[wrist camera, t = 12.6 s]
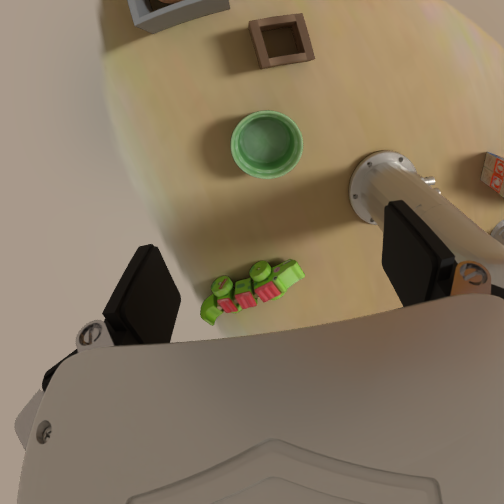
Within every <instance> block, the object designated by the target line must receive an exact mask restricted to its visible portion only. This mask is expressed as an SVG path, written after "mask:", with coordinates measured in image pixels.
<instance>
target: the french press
mask: <svg viewBox="0 0 504 504" xmlns="http://www.w3.org/2000/svg"><path fill="white" fill-rule="evenodd" d="M490 236H492V237H493V238H494V239H496V240H497V241H498V242H500V243H501V244H503V245H504V220H502V221H501V222H499V223H498V224H497V225H496V226H495V228H494V229H493V231H492V233H491V235H490Z"/></svg>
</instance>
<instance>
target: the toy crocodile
mask: <svg viewBox="0 0 504 504" xmlns="http://www.w3.org/2000/svg"><path fill="white" fill-rule="evenodd" d="M249 275H250V276H251V278H252V279H253V280H254V283H253V281H252V279H251V278H248V279H244V280H240V281H237V282H236V283H235V290H234V289H233V283H232V281H231V280H230V278H229V277H227V276H222V277H219V278H218V279H216V280H215V281H214V282H213V284H212V286H211V291H212V292H213V293H214V294H212V295H211V296H209V297H208V298H207V299H206V300H205V301H204V302H203V304H202V306H201V311H200V312H201V313H200V315H201V318H202V319H203V320H205V321H206V322H207V323H209V324H210V325H212V326H213V325H214V322H215V320H216V318H217V317H218V316H219V315H221V314H222V313H223V311H225V312H226V313H230V312H231V313H238V312H240V311H241V310H242V309H246V308H249V307H254V306H256V305H257V298H258V297H260V298H261V300H262V301H263V302H266V301H268V300H277V299H279V298H281V297H282V296H283V295H284V293H285V292H286V291H287V289H288V288H289V287H290V286H292V285H293V284H294V283H296V282H297V281H298V280H301V279H303V278H304V277H305V274H304V273H303V271H302V269H301V268H300V266H299V265H298V263H297V261H295V260H292V259H289V260H287V261H285V262H283V263H281V264H279V265H277V266H275V267H273V268H271V267H270V265H269V264H268V263H267V262H266V261H260V262H257V263H256V264H254V265H253V266H252V268H251V269H250V271H249Z"/></svg>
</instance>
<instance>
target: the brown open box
mask: <svg viewBox="0 0 504 504" xmlns="http://www.w3.org/2000/svg"><path fill="white" fill-rule="evenodd" d="M287 27H291V29H292V32H293V36H294V39H295V43H296V46H297V50H298V54H292V55H285V56H279V57H274V58H268V54H267V51H266V47H265V44H264V40H263V37H262V34H261V32H263V31H268V30H274V29H280V28H287ZM248 28H249V31H250V35H251V38H252V41H253V45H254V48H255V51H256V55H257V58H258V62H259V65H260V69H265V68H270V67H275V66H281V65H287V64H293V63H299V62H307V61H311V60H314V59H315V56H314V53H313V49H312V45H311V41H310V38H309V34H308V31H307V27H306V24H305V20H304V17H303V14H302V13H300V14H291V15H283V16H276V17H270V18H264V19H258V20H253V21H249V26H248Z"/></svg>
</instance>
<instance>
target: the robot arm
mask: <svg viewBox="0 0 504 504" xmlns="http://www.w3.org/2000/svg"><path fill="white" fill-rule="evenodd" d="M368 162H369V163H368ZM367 163H368V164H367ZM434 184H435V179H434V177H433V176H429V177H425V178H423V177H422V176H420V175H419V174H417V171H416V169H415V167H414V165H413V164H412V163H411V161H410V160H409V159H408V158H406V157H405V156H403V155H402V154H400V153H398V152H394V151H388V150H385V151H378V152H376V153H373V154H371V155H369V156H368V157H366V158H365V159H364V160H363V161H361V162H360V164H359V165H358V166H357V167H356V169H355V171H354V173H353V174H352V177H351V180H350V184H349V199H350V203H351V205H352V207H353V209H354V211H355V212H356V214H357V215H358V216H359V217H360V218H361V219H362V220H364V221H365V222H367V223H370V224H374V225H378V226H379V228H380V229H381V230H382V232H383V251H382V266H383V269H384V271H385V272H386V274H387V276H388V278H389V280H390V282H391V283H392V285H393V287H394V289H395V291H396V293H397V295H398V297H399V299H400V301H401V303H402V305H403V307H402V308H398V309H394V310H389V311H385V312H381V313H376V314H372V315H367V316H363V317H358V318H353V319H348V320H343V321H338V322H332V323H327V324H321V325H315V326H310V327H304V328H298V329H291V330H285V331H278V332H271V333H264V334H256V335H248V336H240V337H231V338H222V339H212V340H201V341H189V342H176V343H170V340H171V336H172V332H173V329H174V325H175V321H176V317H177V314H178V310H179V306H180V302H181V297H180V293H179V291H178V289H177V287H176V285H175V283H174V281H173V279H172V277H171V275H170V273H169V270H168V268H167V266H166V264H165V262H164V260H163V258H162V255H161V253H160V251H159V249H158V247H154V246H153V245H152V244H149V245H144V246H140V247H139V248H138V249H137V251H136V252H135V254H134V256H133V257H132V259H131V261H130V263H129V264H128V267H127V268H126V270H125V272H124V273H123V275H122V277H121V279H120V281H119V283H118V284H117V286H116V288H115V290H114V292H113V294H112V296H111V297H110V300H109V302H108V303H107V305H106V307H105V309H104V311H103V313H102V314H103V315H104V317H105V321H104V322H103V321H101V320H94V321H92V322H89V323H88V324H86V325H85V326H84V327H83V328H82V329H81V330H80V331H79V333H78V335H77V337H76V346H77V349H76V350H75V351H74V352H72V353H71V354H69V355H68V356H67V357H65V358H64V359H63V360H61V361H60V362H59V363H58V364H56V365H55V366H53V367H52V368H51V369H49V370H48V371H47V372H46V373H45V375H44V379H43V382H42V388H43V391H41V390H39V391H38V392H37V393H36V394H35V395H34V396H33V398H32V399H31V400H30V401H29V403H28V404H27V405H26V406H25V407H24V409H23V410H22V411H21V413H20V414H19V415H18V417H17V418H16V421H15V431H16V434H17V435H18V438H19V440H20V442H21V443H22V445H23V447H24V449H25V451H26V452H25V456H24V460H23V466H22V471H21V476H20V483H19V490H18V498H17V504H504V245H503V244H501V243H500V242H498V241H497V240H496V239H494V238H493V237H492V236H490V235H489V234H488V233H486V232H485V231H484V230H482V229H481V228H480V227H479V226H478V225H477V224H475V223H474V222H473V221H472V220H471V219H470V218H468V217H467V216H466V215H465V214H464V213H463V212H461V211H460V210H459V209H458V208H457V207H455V206H454V205H453V204H452V203H451V202H450V201H448V200H447V199H446V198H445V197H443V196H442V195H441V194H440V190H439V189H438V188H432V187H431V186H429V185H434ZM354 194H355V195H354Z"/></svg>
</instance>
